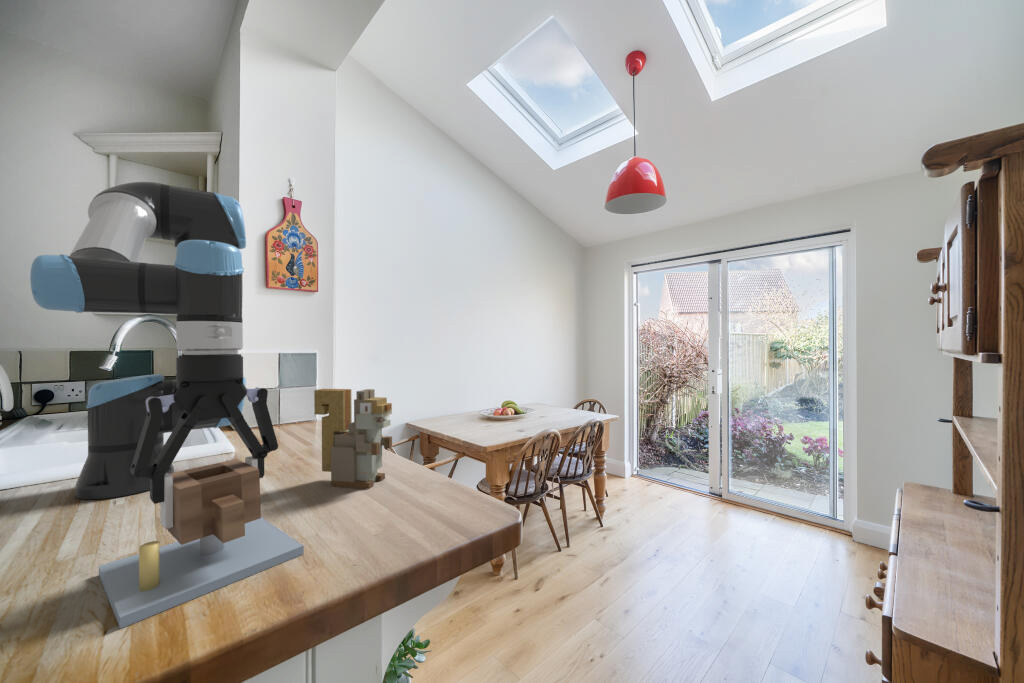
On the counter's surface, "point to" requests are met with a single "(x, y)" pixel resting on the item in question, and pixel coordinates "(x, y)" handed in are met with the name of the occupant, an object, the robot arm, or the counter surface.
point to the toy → (353, 436)
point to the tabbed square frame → (215, 501)
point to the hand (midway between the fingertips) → (212, 512)
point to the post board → (190, 569)
